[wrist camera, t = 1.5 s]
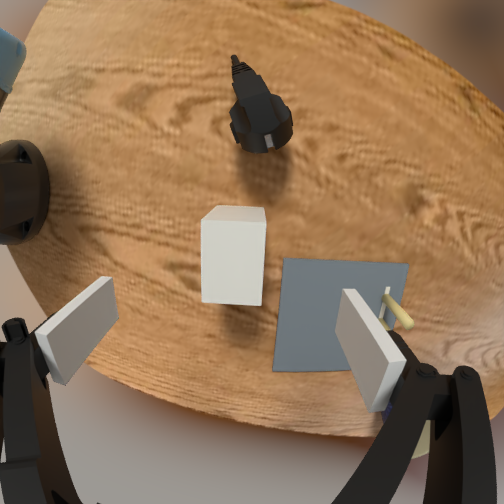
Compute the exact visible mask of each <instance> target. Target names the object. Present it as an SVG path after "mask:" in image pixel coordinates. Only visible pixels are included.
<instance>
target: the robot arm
mask: <svg viewBox="0 0 504 504" xmlns="http://www.w3.org/2000/svg"><path fill="white" fill-rule="evenodd" d="M25 58H26V46H25V44H24V43H23V42H22V41H21V40H19V39H18V38H16V37H14V36H13V35H11V34H10V33H8V32H6V31H5V30H3V29H1V28H0V112H1V109H2V107H3V105H4V102H5V100H6V98H7V96H8V94H10V93H11V92H12V86H13V84H14V81H15V79H16V77H17V75H18V73H19V71H20V69H21V67H22V65H23V63H24V61H25ZM48 203H49V178H48V172H47V168H46V164H45V161H44V159H43V156H42V154H41V153H40V151H39V150H38V148H37V147H36V146H35V145H34V144H33V143H31V142H29V141H27V140H10V141H6V142H4V143H2V144H0V244H2V245H17V244H21V243H23V242H25V241H28V240H30V239H32V238H33V237H34V236H35V235H36V234H37V233H38V232H39V230H40V229H41V227H42V225H43V223H44V220H45V217H46V214H47V209H48ZM118 319H119V316H118V310H117V305H116V299H115V292H114V286H113V279H112V277H106V276H101V277H100V278H99V279H97V280H96V281H95V282H94V283H92V284H91V285H90V286H89V287H87V288H86V289H85V290H84V291H82V292H81V293H80V294H79V295H77V296H76V297H75V298H74V299H73V300H71V301H70V302H69V303H68V304H66V305H65V306H64V307H63V308H62V309H61V310H59V311H58V312H56V313H54V314H52V315H51V316H50V317H48V318H47V320H45V321H44V322H43V323H42V324H40V325H39V326H38V327H37V328H36V329H35V330H33V331H32V332H31V333H30V334H29V333H28V329H27V326H26V324H25V320H24V319H22V318H12V319H9V320H8V321H6V322H5V323H4V324H3V325H2V330H3V332H4V335H5V338H6V340H7V342H0V461H1V453H2V446H3V440H4V442H5V453H6V462H5V463H4V462H3V463H0V482H1V488H2V494H3V499H4V503H5V504H83V503H82V502H81V501H80V499H79V497H78V495H77V493H76V490H75V487H74V485H73V482H72V479H71V476H70V474H69V470H68V468H67V465H66V461H65V458H64V454H63V451H62V447H61V444H60V440H59V436H58V432H57V427H56V423H55V418H54V413H53V408H52V403H51V397H50V391H49V384H48V380H47V378H46V375H47V374H48V373H49V372H50V374H51V376H52V379H53V381H54V382H57V383H60V384H62V385H65V386H66V384H67V383H68V382H69V380H70V379H71V378H72V376H73V375H74V374H75V372H76V371H77V370H78V368H79V367H80V366H81V365H82V363H83V362H84V361H85V360H86V358H87V357H88V356H89V354H90V353H91V352H92V351H93V349H94V348H95V347H96V346H97V344H98V343H99V342H100V341H101V339H102V338H103V337H104V336H105V334H106V333H107V332H108V331H109V330H110V328H111V327H112V326H113V325H114V324H115V322H116V321H117V320H118ZM335 333H336V335H337V337H338V340H339V342H340V344H341V347H342V349H343V351H344V354H345V356H346V358H347V361H348V363H349V365H350V368H351V370H352V373H353V375H354V378H355V380H356V382H357V385H358V387H359V390H360V392H361V395H362V397H363V400H364V402H365V405H366V407H367V410H368V412H369V413H371V412H378V411H384V410H385V409H386V407H387V405H388V403H389V401H390V403H391V405H392V409H391V411H390V413H389V415H388V417H387V419H386V421H385V423H384V425H383V426H382V428H381V430H380V432H379V434H378V435H377V437H376V439H375V441H374V442H373V444H372V446H371V447H370V449H369V451H368V452H367V454H366V455H365V457H364V459H363V460H362V462H361V463H360V465H359V466H358V468H357V469H356V471H355V472H354V474H353V475H352V477H351V478H350V479H349V481H348V482H347V484H346V485H345V487H344V488H343V489H342V490H341V492H340V493H339V495H338V496H337V497H336V498H335V500H334V501H333V502H332V503H331V504H389V503H390V501H391V499H392V497H393V495H394V494H395V492H396V490H397V488H398V486H399V484H400V482H401V480H402V478H403V476H404V474H405V472H406V470H407V467H408V465H409V463H410V460H411V458H412V456H413V454H414V451H415V449H416V447H417V444H418V441H419V439H420V436H421V434H422V431H423V428H424V425H425V422H426V420H430V445H429V460H428V471H427V479H426V487H425V494H424V500H423V504H497V486H496V485H497V484H496V465H495V455H494V447H493V439H492V432H491V426H490V420H489V414H488V409H487V405H486V400H485V396H484V392H483V388H482V384H481V380H480V376H479V374H478V372H477V371H476V370H474V369H473V368H471V367H469V366H458V367H457V368H456V369H455V370H454V372H453V374H452V375H441V374H439V373H438V371H437V369H436V368H434V367H433V366H431V365H429V364H426V363H420V362H419V360H418V359H417V358H416V356H415V355H414V353H413V352H412V351H411V349H410V348H408V345H407V344H406V343H405V341H404V340H403V339H402V337H401V336H400V335H399V334H397V333H396V332H394V331H393V330H385V329H384V327H383V326H382V324H381V323H380V322H379V320H378V319H377V317H376V316H375V315H374V313H373V312H372V311H371V309H370V308H369V306H368V305H367V304H366V302H365V301H364V300H363V298H362V297H361V296H360V294H359V293H358V292H357V290H356V289H343V290H342V296H341V301H340V307H339V312H338V317H337V323H336V328H335ZM97 504H100V503H97Z"/></svg>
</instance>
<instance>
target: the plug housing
mask: <svg viewBox="0 0 504 504" xmlns="http://www.w3.org/2000/svg"><path fill="white" fill-rule="evenodd" d="M265 242H266V217H265V211H264V207H249V206H225V205H217V206H216V207H215V208H214V209H212V210H211V211H210V212H209V213H208V214H207V215H206V216H205V217H204V218H203V219H201V289H202V302H205V303H220V304H236V305H255V306H261V301H262V289H263V274H264V258H265Z"/></svg>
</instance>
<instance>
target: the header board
mask: <svg viewBox="0 0 504 504" xmlns="http://www.w3.org/2000/svg"><path fill="white" fill-rule="evenodd" d="M408 268H409V264H408V263H387V262H364V261H342V260H321V259H300V258H283V270H282V281H281V292H280V303H279V313H278V323H277V332H276V342H275V351H274V360H273V368H272V371H288V372H301V371H338V370H351V368H350V365H349V363H348V361H347V358H346V356H345V354H344V351H343V349H342V347H341V344H340V342H339V340H338V337H337V335H336V333H335V328H336V323H337V317H338V312H339V307H340V301H341V296H342V290H343V289H356V290H357V292H358V293H359V294H360V296H361V297H362V298H363V300H364V301H365V302H366V304H367V305H368V306H369V308H370V309H371V311H372V312H373V313H374V315H375V316H376V317H377V319H378V320H379V322H380V323H381V324H382V326H383V327H384V329H385V330H393V328H394V324H395V321H396V318H397V319H398V320H399V321H400V323H401V324H402V325H403V326H404V328H405V329H406V330H410V329H412V328H413V326H414V321H413V320H412V319H411V318H410V317H409V315H408V314H407V313H406V312H405V311H404V310H403V309H402V308H401V307H400V302H401V299H402V295H403V290H404V286H405V282H406V278H407V273H408Z"/></svg>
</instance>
